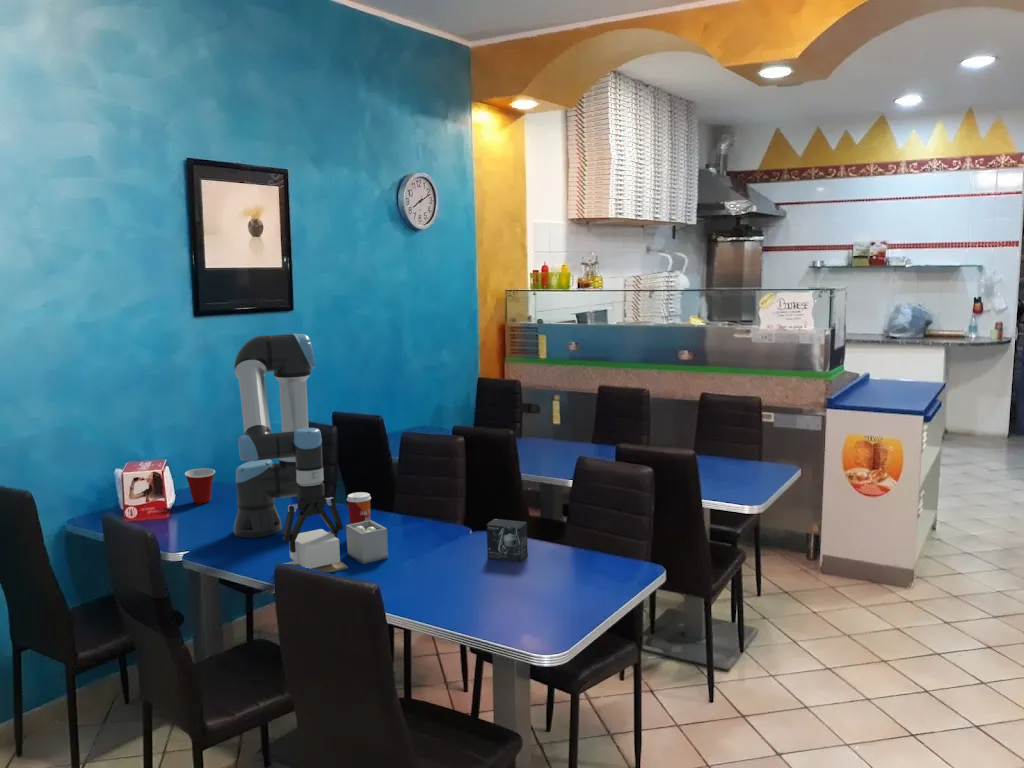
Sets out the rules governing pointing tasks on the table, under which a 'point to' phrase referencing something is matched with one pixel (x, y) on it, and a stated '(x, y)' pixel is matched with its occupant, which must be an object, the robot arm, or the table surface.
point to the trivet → (327, 566)
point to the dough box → (367, 541)
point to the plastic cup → (200, 484)
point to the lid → (317, 549)
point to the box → (507, 540)
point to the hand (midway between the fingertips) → (314, 558)
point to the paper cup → (359, 507)
